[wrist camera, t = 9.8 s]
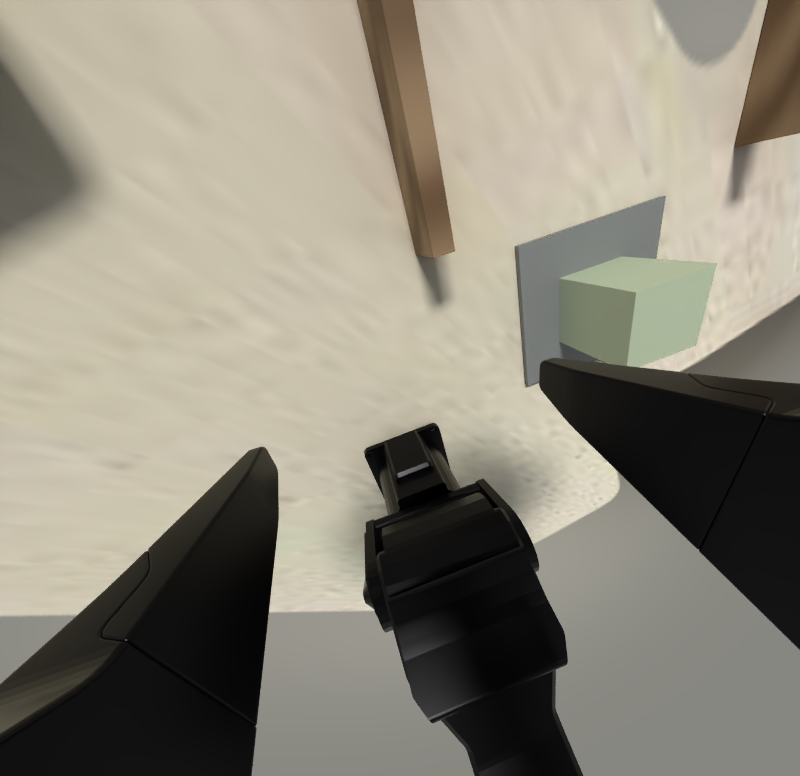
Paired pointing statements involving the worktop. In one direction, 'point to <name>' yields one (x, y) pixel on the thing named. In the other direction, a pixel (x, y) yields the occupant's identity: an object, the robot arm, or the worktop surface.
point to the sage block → (634, 308)
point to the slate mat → (570, 254)
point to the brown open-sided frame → (414, 129)
